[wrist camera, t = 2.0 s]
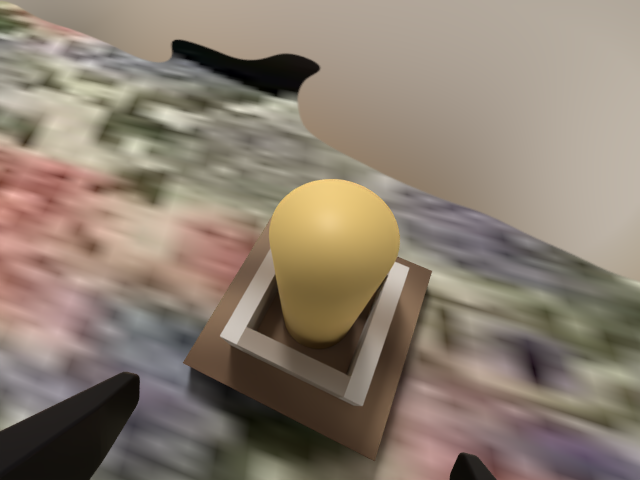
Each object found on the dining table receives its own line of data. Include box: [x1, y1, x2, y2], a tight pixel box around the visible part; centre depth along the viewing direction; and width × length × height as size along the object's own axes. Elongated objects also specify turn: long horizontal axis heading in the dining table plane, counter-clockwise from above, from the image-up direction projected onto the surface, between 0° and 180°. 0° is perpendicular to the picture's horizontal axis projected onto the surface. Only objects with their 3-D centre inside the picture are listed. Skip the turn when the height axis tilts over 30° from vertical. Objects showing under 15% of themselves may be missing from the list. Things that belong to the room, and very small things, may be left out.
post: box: [269, 179, 400, 349], centre depth 16 cm, size 4×4×11 cm
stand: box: [183, 215, 432, 461], centre depth 20 cm, size 12×12×4 cm
